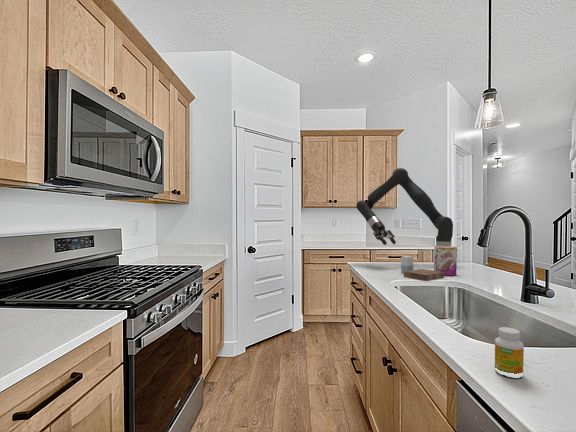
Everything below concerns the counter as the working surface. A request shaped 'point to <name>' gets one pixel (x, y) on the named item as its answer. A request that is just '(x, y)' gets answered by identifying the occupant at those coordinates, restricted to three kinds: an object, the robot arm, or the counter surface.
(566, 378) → the counter surface
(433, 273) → the walnut stand
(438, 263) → the candy bar box
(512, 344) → the supplement bottle
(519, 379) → the counter surface
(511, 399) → the counter surface
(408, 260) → the housing block
